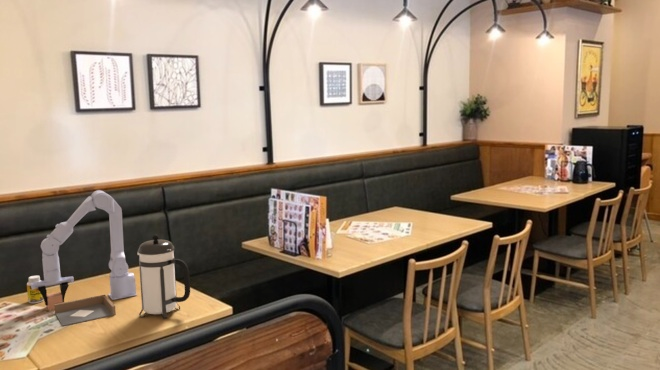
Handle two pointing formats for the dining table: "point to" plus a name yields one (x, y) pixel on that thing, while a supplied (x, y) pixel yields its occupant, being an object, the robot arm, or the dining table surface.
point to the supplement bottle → (34, 291)
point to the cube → (54, 300)
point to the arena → (84, 310)
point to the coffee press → (160, 277)
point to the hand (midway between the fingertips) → (54, 303)
